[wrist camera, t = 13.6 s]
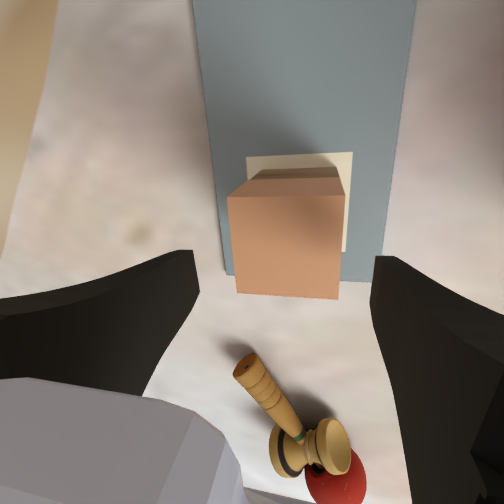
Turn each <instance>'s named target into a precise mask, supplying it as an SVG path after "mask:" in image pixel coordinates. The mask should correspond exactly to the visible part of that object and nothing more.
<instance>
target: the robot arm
mask: <svg viewBox="0 0 504 504" xmlns="http://www.w3.org/2000/svg"><path fill="white" fill-rule="evenodd" d="M199 292H200V289H199V283H198V277H197V271H196V266H195V260H194V254H193V250H176V251H172V252H169V253H166V254H164V255H161V256H158V257H156V258H153V259H151V260H148V261H146V262H143V263H141V264H138V265H136V266H133V267H130V268H128V269H125V270H122V271H120V272H117V273H114V274H111V275H108V276H105V277H102V278H99V279H96V280H92V281H89V282H85V283H82V284H78V285H73V286H69V287H64V288H60V289H56V290H51V291H46V292H41V293H35V294H29V295H23V296H17V297H9V298H2V299H0V504H316V503H311V502H307V501H303V500H298V499H294V498H290V497H285V496H281V495H277V494H272V493H268V492H264V491H259V490H255V489H251V488H246V487H243V481H242V475H241V468H240V464H239V462H238V460H237V459H236V457H235V455H234V453H233V451H232V449H231V447H230V446H229V444H228V442H227V440H226V438H225V436H224V434H223V433H222V432H221V431H220V430H218V429H217V428H216V427H214V426H213V425H212V424H211V423H209V422H208V421H207V420H205V419H204V418H203V417H201V416H200V415H199V414H197V413H196V412H195V411H192V410H189V409H186V408H183V407H180V406H178V405H175V404H172V403H169V402H166V401H163V400H160V399H154V398H148V397H142V395H143V393H144V390H145V388H146V386H147V384H148V382H149V380H150V378H151V376H152V374H153V372H154V370H155V368H156V366H157V364H158V362H159V360H160V359H161V357H162V355H163V354H164V352H165V350H166V349H167V347H168V346H169V344H170V343H171V341H172V340H173V338H174V337H175V335H176V334H177V332H178V331H179V329H180V328H181V326H182V324H183V323H184V321H185V320H186V318H187V317H188V315H189V313H190V312H191V310H192V308H193V306H194V304H195V302H196V299H197V297H198V295H199ZM370 309H371V316H372V322H373V327H374V330H375V334H376V337H377V340H378V343H379V347H380V350H381V353H382V356H383V359H384V363H385V366H386V369H387V372H388V375H389V379H390V382H391V386H392V390H393V395H394V400H395V405H396V410H397V415H398V420H399V426H400V431H401V437H402V443H403V448H404V454H405V460H406V466H407V473H408V479H409V485H410V491H411V498H412V504H504V315H502V314H500V313H497V312H495V311H493V310H490V309H488V308H486V307H484V306H482V305H479V304H477V303H475V302H473V301H471V300H469V299H467V298H465V297H463V296H461V295H459V294H457V293H455V292H453V291H452V290H450V289H448V288H446V287H444V286H442V285H441V284H439V283H437V282H436V281H434V280H432V279H431V278H429V277H427V276H426V275H424V274H423V273H421V272H419V271H418V270H416V269H415V268H413V267H412V266H410V265H408V264H407V263H405V262H404V261H402V260H400V259H399V258H397V257H395V256H375V263H374V271H373V279H372V287H371V295H370Z"/></svg>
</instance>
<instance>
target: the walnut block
mask: <svg viewBox="0 0 504 504" xmlns="http://www.w3.org/2000/svg"><path fill="white" fill-rule="evenodd" d="M326 177H340V176H339V173H338V170H337V167H319V168H292V169H265V170H261V171H259V172H258V173H257V174H256V175H255V176H253V177H252V178H251V179H250V180H259V179H292V178H326Z"/></svg>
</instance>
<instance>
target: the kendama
mask: <svg viewBox="0 0 504 504" xmlns="http://www.w3.org/2000/svg"><path fill="white" fill-rule="evenodd" d="M233 377H234V378H235V379H236V380H237V381H238V382H239V383H240V384H241V385H242V386H243V387H244V388H245V389H246V391H247V392H248V393H249V394H250V395H251V396H252V397H253V398H254V399H255V400H256V401H257V402H258V404H259V405H260V406H261V407H262V408H263V409H264V410H265V411H266V413H267V414H268V415H269V416H270V417H271V418H272V419H273V420H274V421H275V422H276V423H277V425H276V426H275V427H274V428H273V430H272V431H271V434H270V439H269V454H270V459H271V463H272V465H273V467H274V469H275V471H276V472H277V473H278V474H279V475H280V476H281V477H285V478H295V477H298V476H299V475H300V474H301V472H302V470H303V468H305V479H306V484H307V487H308V490H309V492H310V494H311V496H312V497H313V499H314V500H315V502H316V503H317V504H361V503H362V502H363V499H364V497H365V493H366V474H365V470H364V467H363V465H362V462H361V460H360V459H359V457H358V456H357V454H356V453H355V452H354V451H353V450H352V449H351V448H350V443H349V439H348V436H347V433H346V431H345V429H344V427H343V426H342V424H341V423H340V422H339V421H338V420H337V419H335V418H324V419H322V420H321V421H320V422H319V424H318V427H317V428H316V429H315V430H314V431H313V430H311V429H310V430H309V431H308V432H306V431H305V429H304V427H303V425H302V424H301V422H300V420H299V418H298V417H297V415H296V413H295V411H294V410H293V408H292V406H291V405H290V403H289V402H288V400H287V399H286V397H285V396H284V394H283V393H282V392H281V391H280V389H279V387H278V386H277V384H276V383H275V381H274V380H273V379H272V377H271V376H270V374H269V373H268V371H267V370H266V368H265V367H264V365H263V363H262V362H261V360H260V359H259V357H258V356H257V355H256V354H251V355H249V356H246V357H245V358H244V359H242V360H241V361H240V362H239V363H238V364H237V366H236V367H235V369H234V371H233Z"/></svg>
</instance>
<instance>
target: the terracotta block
mask: <svg viewBox="0 0 504 504" xmlns="http://www.w3.org/2000/svg"><path fill="white" fill-rule="evenodd" d="M345 196H346V195H345V192H344V189H343V186H342V183H341V180H340V177H326V178H292V179H259V180H247V181H246V182H245V183H243V184H242V185H241V186H240V187H238V188H237V189H236V190H235V191H234V192H232V193H231V194H230V195H229V196H228V197H227V206H228V215H229V224H230V233H231V242H232V252H233V261H234V270H235V279H236V288H237V293H244V294H259V295H274V296H289V297H304V298H319V299H334V300H338V294H339V280H340V266H341V252H342V238H343V224H344V210H345Z"/></svg>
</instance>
